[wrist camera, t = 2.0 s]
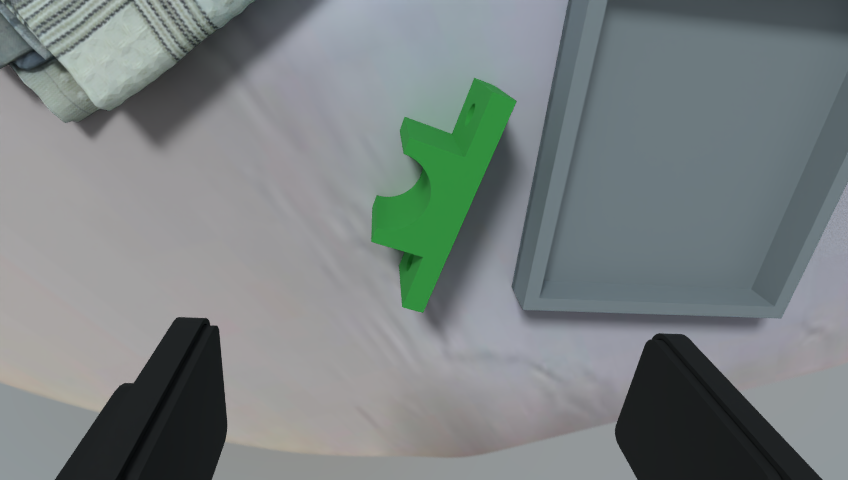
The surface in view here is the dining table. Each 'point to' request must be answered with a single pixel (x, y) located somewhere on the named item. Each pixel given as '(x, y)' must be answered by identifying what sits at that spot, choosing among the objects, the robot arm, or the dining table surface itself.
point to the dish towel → (102, 46)
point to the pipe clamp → (439, 189)
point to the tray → (687, 157)
